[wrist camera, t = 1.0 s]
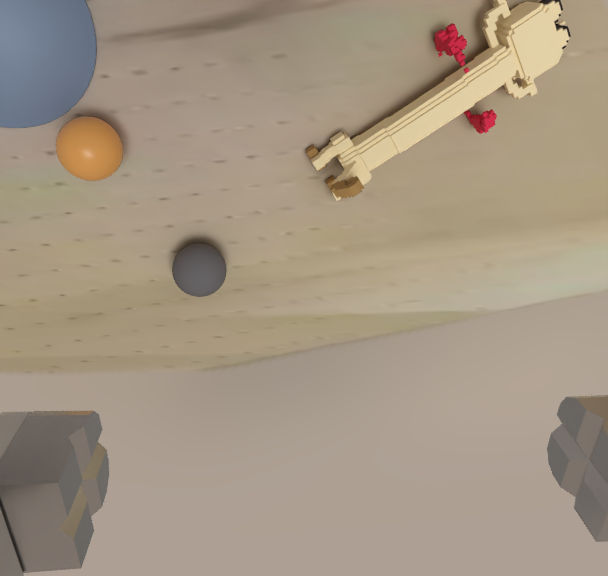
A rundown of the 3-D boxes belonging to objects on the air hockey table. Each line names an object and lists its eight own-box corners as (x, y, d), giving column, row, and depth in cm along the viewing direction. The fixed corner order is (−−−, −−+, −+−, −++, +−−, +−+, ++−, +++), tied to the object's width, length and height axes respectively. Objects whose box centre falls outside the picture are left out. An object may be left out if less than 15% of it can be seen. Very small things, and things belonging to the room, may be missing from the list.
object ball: (49, 134, 43) (34, 149, 38) (95, 98, 42) (86, 110, 38) (93, 181, 45) (84, 201, 41) (138, 148, 45) (133, 164, 40)
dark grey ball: (161, 254, 50) (160, 278, 46) (203, 225, 49) (205, 247, 45) (194, 289, 52) (195, 315, 48) (234, 262, 52) (239, 286, 48)
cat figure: (343, 206, 53) (569, 61, 48) (362, 245, 46) (631, 79, 41) (290, 125, 48) (537, -45, 43) (303, 154, 41) (602, -47, 36)
